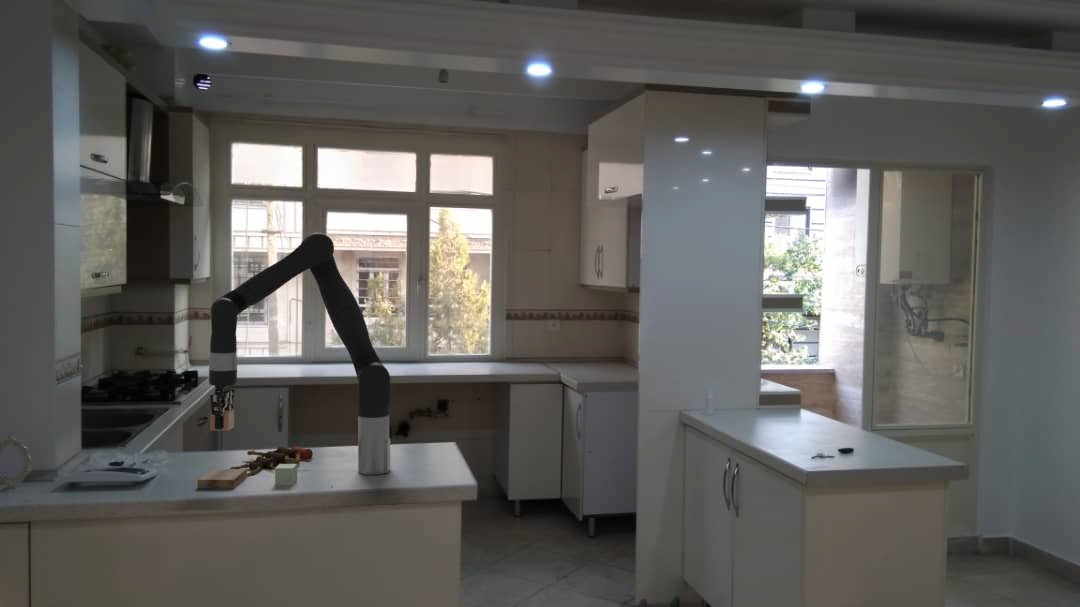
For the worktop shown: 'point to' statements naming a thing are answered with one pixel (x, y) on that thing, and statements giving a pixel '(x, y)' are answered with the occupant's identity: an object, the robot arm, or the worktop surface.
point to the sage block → (286, 474)
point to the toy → (276, 458)
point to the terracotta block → (224, 421)
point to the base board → (222, 478)
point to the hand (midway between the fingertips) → (222, 426)
